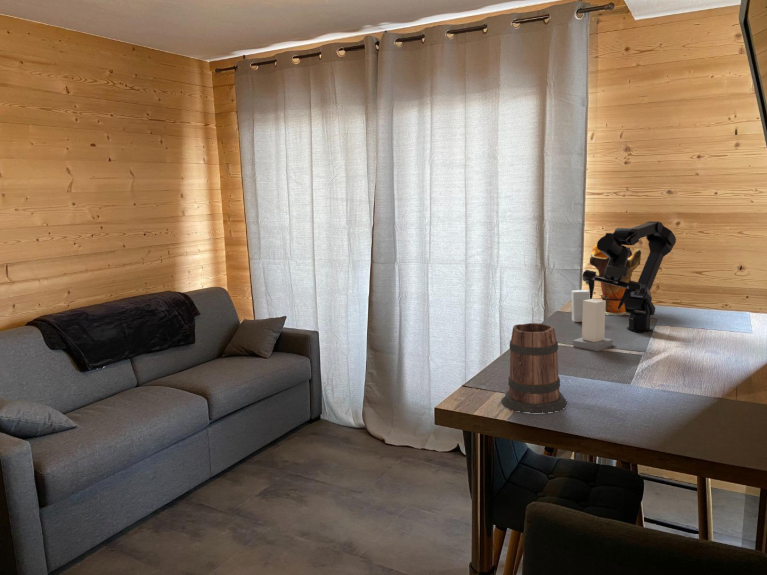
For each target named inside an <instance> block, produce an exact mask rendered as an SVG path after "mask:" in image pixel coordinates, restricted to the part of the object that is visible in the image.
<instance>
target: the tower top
mask: <svg viewBox="0 0 767 575" xmlns="http://www.w3.org/2000/svg"><path fill="white" fill-rule="evenodd" d="M613 345H614V340H613V339H612V338H606V337H604V340H601V341H598V342H591V341H587V340H583V339H582V336H581V337H579V338H576V339H573V341H572V346H573V347H576V348H580V349H585V350H589V351H596V352H599V351H602V350H605V349H607V348H610V347H612V346H613Z"/></svg>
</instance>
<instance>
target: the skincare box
mask: <svg viewBox="0 0 767 575" xmlns="http://www.w3.org/2000/svg"><path fill="white" fill-rule="evenodd" d="M588 299H590V290H588V289H576V290H575V289H573V290H571V321H572V322H573V323H582V316H583V300H588Z"/></svg>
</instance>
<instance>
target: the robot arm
mask: <svg viewBox="0 0 767 575" xmlns="http://www.w3.org/2000/svg"><path fill="white" fill-rule="evenodd" d="M642 238H645V239H646V240H647V242H648V243H647V244H648V248H649V253H648V256H647V258H646V261H645V263H644V266H643V269H642V271H641V273H640V276H639V278H638V280H637V281H634V280H632V279H631V280H629V283H626V282H622V281H621V279H622V276H623V277H626V276H627V273H628V269H629V268H628V267H625V266H626V263H627V260H628V256H629V255H632V252H633V251H632V250H631V247H628V246H635V245H636V244H637V243H639V242H640V240H641V239H642ZM676 243H677V237H676V235H675V234H674V232H673V231H672V230H671V229H669V228H667V227H666V226H665V225H664V224H663V222H660V221H652V220H651V221H650V220H649V221H647V222H645V223H642V224H639V225H635V226H634V227H617V228H616V229H615V230H614V231H613V232H606V233H605V235H604V236H601V237H600V239H598V241H597V242H596V245H597V248H598V249H599V250H600V251H601V252H602V253H604V254H605V255H606V256H608V257H610V258H609V261H608V264H607V266H606V268H605V271H604V274H603V276H604V277H602V276H599V274H597V271H593V270H590V269H585V270H584V271H583V273H582V276H581V278H582V281H583V282H585V284H586V285H588V289H589V290H588V291H589V299H593V295H594V290H595V282H596V281H597V282H598V283H599V282H600V283H601V282H603V283H607V284H611V285H615V286H619V287H623V288H626V290H625V292H624V295H623V297H622V299H621V301H620V303H619V306H618V310H619V309H620V307H621V306H622V305H623V303H624V305H625V310H626V313H630V315H629V318H628V326H627V327H626V329H627V328H628V329H627V330H629V329H631V330H630V331H632V330H634V331H633V332H635V331H637V332H636V333H642V332H641V331H645V332H650V331H649V330H652V331H653V330H654V329H653V328H651V316H654V315H655V312H656V306H655V305H654V303H653V302H652V300H653V297H652V294H651V289H652V287H653V284H654V282H655V279H656V276H657V274H658V271H659V270H660V266H661V264H662V262H663V259H664V258H665V256H666V255H668V254H670V253H671V252H672V250H673V248H674V246H675V245H676ZM622 245H623V246H622ZM605 280H607V281H605ZM609 281H610V282H609ZM614 282H615V283H614ZM617 283H618V284H617Z"/></svg>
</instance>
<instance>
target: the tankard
mask: <svg viewBox="0 0 767 575" xmlns="http://www.w3.org/2000/svg"><path fill="white" fill-rule="evenodd" d="M510 338H511V339H510V341H509V350H510V352H509V353H510V354H509V355H510V356H509V357H510V358H509V375H508V384H507V385H508V386H509V387H508V388H509V390H507V391H506V392H505V394H504V396H503V397H502V398H501V401H500V403H501V405H502V406H503V407H504V408H505V407H506V409H507V408H508V409H507V410H509V409H510V410H509V411H512V410H513V411H512V412H515V411H520V412H530V413H542V412H543V413H548V412H555V411H559V412H561V411H560V410H562V409H563V408H565V407H566V405H567V402H568V400H567V399H566V398H565V396H564V395H563V394H562V393H561V391H560V388H561V387H560V386H561V378H560V377H559V363H558V362H559V361H558V360H559V359H558V350H559V342H558V341H557V337H556V331H555V327H554V326H552V325H550V324H549V325H548V324H546V323H538V322H531V323H523V324H520V323H519V324H515V325H513V327H512V332H511V337H510ZM566 400H567V401H566ZM566 408H567V407H566ZM566 408H565V409H566ZM562 411H563V410H562Z"/></svg>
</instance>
